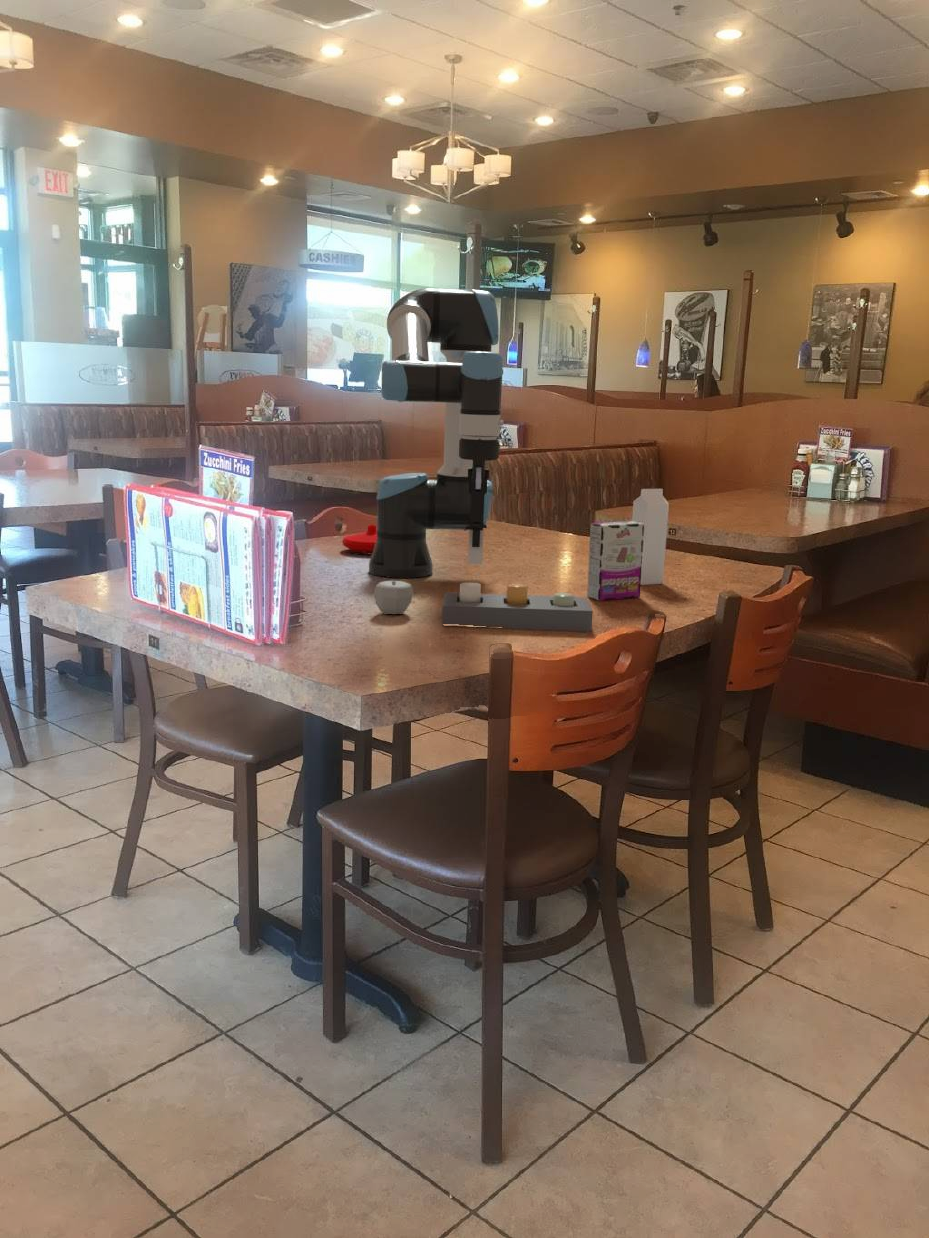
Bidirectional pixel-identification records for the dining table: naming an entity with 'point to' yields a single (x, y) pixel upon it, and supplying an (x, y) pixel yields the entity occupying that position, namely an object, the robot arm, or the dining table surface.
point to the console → (518, 613)
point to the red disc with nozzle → (362, 540)
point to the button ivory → (470, 592)
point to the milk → (652, 533)
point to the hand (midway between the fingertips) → (475, 562)
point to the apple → (393, 596)
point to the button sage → (563, 599)
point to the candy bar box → (615, 560)
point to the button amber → (516, 594)
